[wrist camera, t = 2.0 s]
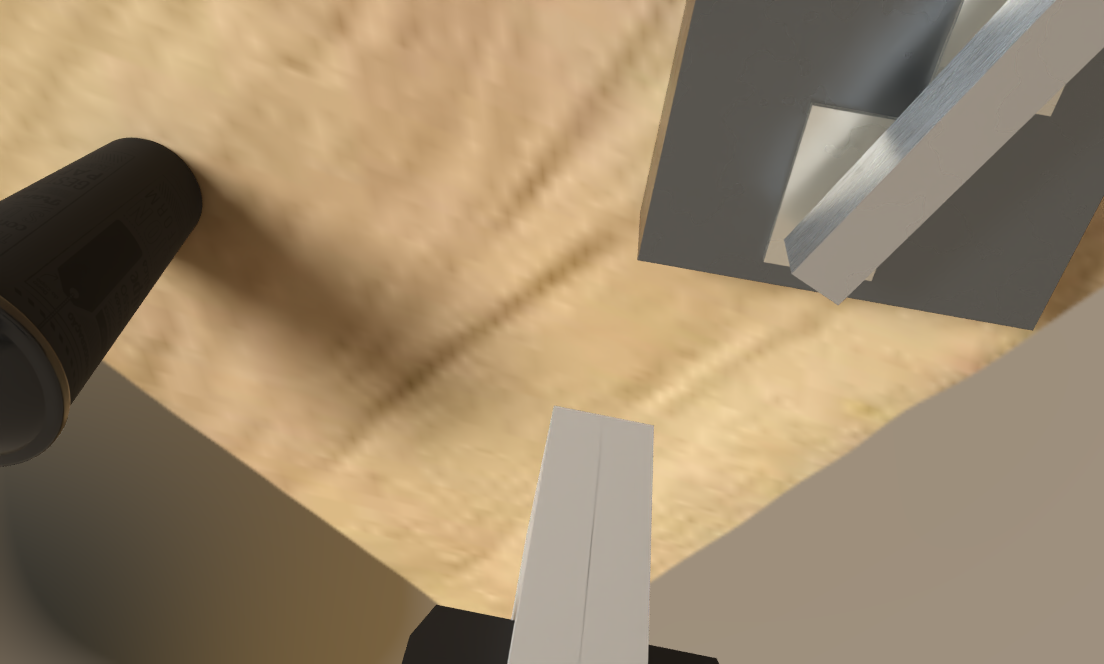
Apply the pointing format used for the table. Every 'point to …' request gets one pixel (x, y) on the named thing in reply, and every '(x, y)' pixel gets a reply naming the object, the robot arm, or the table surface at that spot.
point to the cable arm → (943, 139)
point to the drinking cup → (80, 276)
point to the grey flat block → (860, 153)
